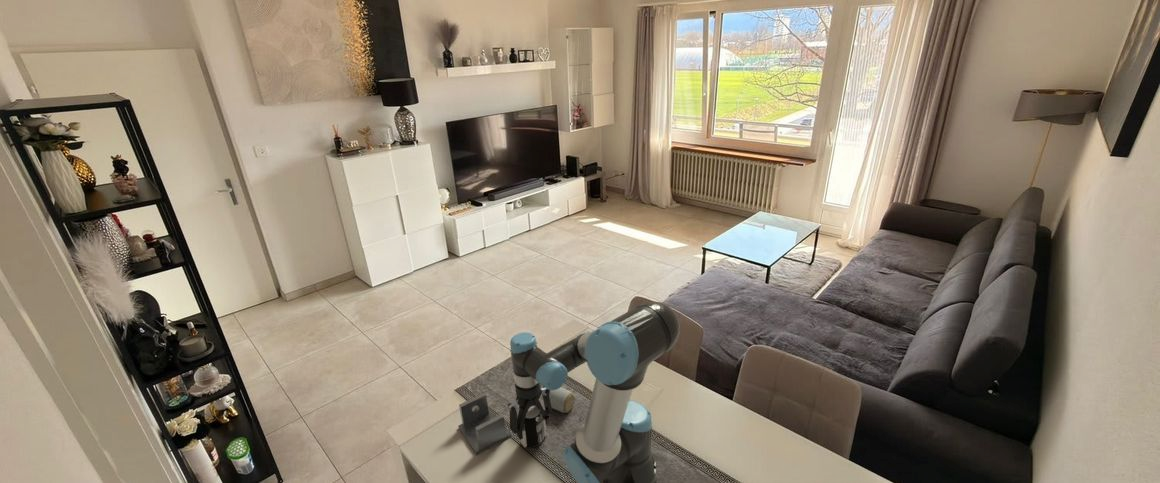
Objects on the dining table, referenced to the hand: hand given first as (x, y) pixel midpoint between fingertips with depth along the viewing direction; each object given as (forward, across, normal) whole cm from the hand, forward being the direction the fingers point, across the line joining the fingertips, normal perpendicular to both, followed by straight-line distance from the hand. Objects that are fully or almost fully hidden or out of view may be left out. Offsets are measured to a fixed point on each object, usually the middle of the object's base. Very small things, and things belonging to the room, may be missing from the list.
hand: (533, 438), depth 151 cm
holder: (0, +11, -13) cm, 17 cm away
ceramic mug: (+1, -16, -7) cm, 18 cm away
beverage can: (+1, 0, 0) cm, 1 cm away
